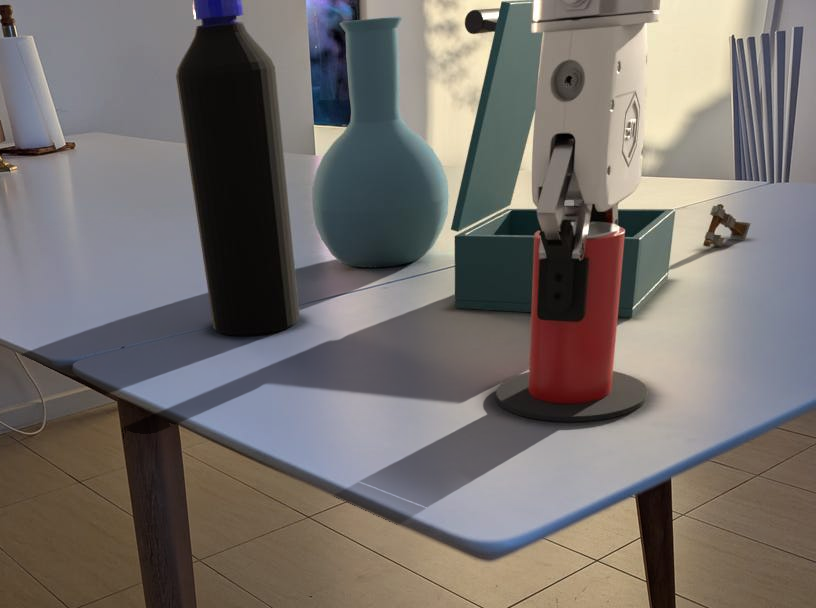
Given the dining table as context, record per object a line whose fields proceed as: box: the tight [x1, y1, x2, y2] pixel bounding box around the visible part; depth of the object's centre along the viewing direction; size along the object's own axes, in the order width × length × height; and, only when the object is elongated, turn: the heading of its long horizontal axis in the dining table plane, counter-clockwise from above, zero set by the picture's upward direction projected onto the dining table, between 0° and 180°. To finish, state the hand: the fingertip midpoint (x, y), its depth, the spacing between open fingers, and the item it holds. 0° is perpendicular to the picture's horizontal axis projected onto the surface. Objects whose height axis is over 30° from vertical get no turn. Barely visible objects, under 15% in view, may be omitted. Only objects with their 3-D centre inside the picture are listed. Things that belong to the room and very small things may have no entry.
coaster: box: [495, 370, 649, 423], centre depth 68 cm, size 11×11×1 cm
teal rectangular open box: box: [454, 208, 676, 319], centre depth 91 cm, size 18×15×7 cm
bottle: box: [175, 0, 300, 337], centre depth 85 cm, size 9×9×28 cm
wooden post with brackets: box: [702, 203, 751, 248], centre depth 106 cm, size 2×8×4 cm, turn 132°
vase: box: [311, 15, 450, 268], centre depth 108 cm, size 16×16×25 cm
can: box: [528, 222, 625, 404], centre depth 65 cm, size 6×6×11 cm
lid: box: [450, 0, 543, 233], centre depth 88 cm, size 18×15×5 cm
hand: (575, 304), depth 65 cm, fingers closed on can, 6 cm apart
